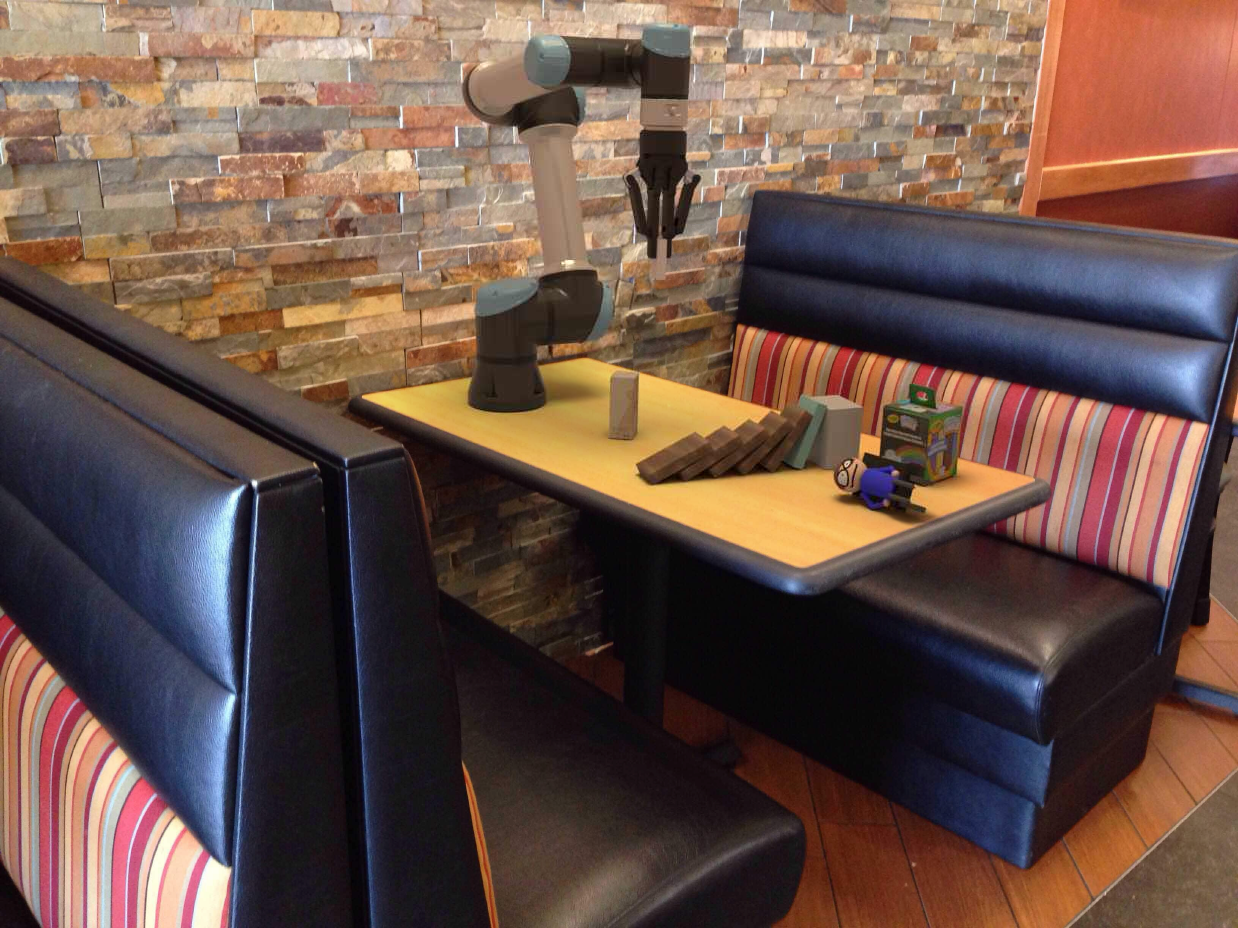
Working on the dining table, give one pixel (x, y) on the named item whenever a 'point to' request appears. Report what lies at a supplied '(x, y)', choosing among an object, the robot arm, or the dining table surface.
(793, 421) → the tile
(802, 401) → the tile
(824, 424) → the end block
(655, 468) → the tile
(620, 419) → the box
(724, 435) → the tile
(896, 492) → the character figurine
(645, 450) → the dining table surface
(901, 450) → the chalk box
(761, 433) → the tile
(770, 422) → the tile
